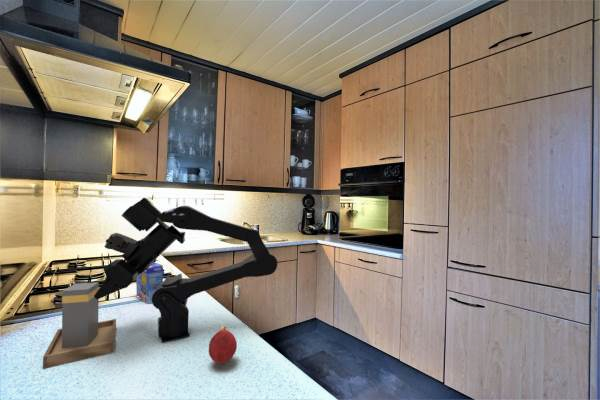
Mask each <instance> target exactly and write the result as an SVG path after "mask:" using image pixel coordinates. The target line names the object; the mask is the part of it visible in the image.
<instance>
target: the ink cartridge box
mask: <svg viewBox="0 0 600 400" xmlns="http://www.w3.org/2000/svg"><path fill="white" fill-rule="evenodd" d="M163 270H164V269H163V264H161V263H157V262H155V261H153V264H152V265H151V266H149V267H148V268H147V269H146V270H145V271H144V272H143V273H141V274H139V275H138V277H137V278H136V279H135V281H136V285H135V286H136V288H135V289H136V297H137V296H139V297H140V298H141V299H142V300H141V301H142V302H144V304H147V305H149V304H153V303H152V296H153V294H154V292H155V290H156V289H157V287H158V285H159V284H160V283H161V282H163V281H164V271H163Z"/></svg>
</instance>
